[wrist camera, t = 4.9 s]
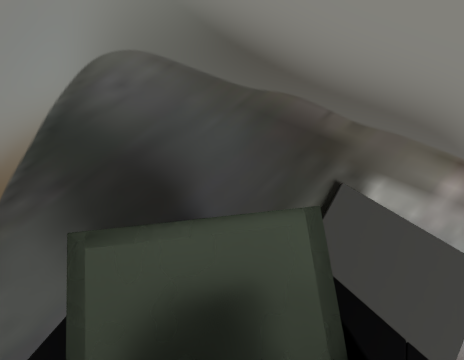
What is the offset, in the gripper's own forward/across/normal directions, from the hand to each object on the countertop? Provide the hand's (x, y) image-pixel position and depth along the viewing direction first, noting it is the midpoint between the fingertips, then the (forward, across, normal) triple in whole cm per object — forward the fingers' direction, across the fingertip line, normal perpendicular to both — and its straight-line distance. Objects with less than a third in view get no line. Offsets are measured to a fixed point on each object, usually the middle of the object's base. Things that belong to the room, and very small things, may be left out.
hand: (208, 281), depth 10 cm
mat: (+8, -12, +11) cm, 18 cm away
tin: (+4, 0, +6) cm, 7 cm away
